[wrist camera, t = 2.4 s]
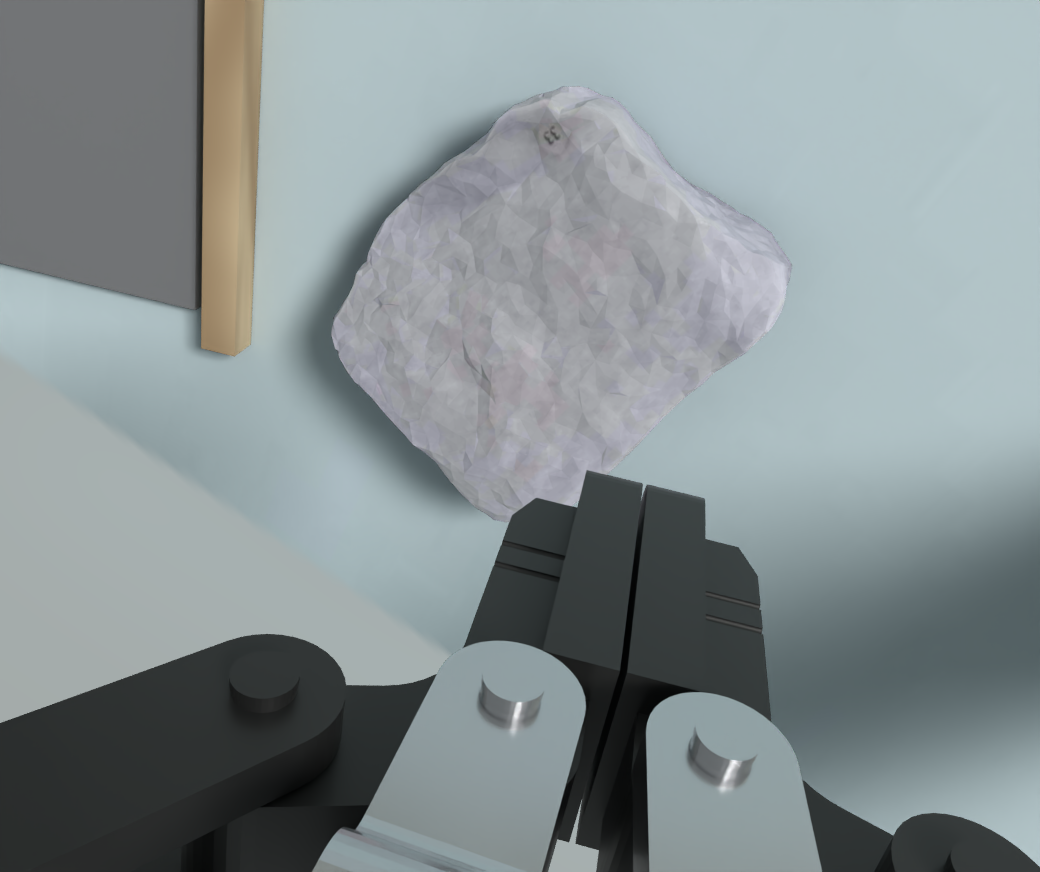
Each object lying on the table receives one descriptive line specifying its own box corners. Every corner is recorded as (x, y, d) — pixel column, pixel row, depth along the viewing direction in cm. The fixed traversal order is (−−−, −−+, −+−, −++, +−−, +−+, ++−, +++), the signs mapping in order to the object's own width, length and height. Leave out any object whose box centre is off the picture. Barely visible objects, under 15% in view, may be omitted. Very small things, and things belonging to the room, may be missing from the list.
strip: (268, -122, 25) (248, -127, 24) (250, 344, 31) (234, 356, 30) (228, -130, 25) (206, -135, 24) (218, 336, 32) (201, 348, 30)
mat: (207, -93, 26) (197, -94, 25) (202, 305, 31) (195, 310, 31) (-144, -162, 27) (-159, -165, 26) (-88, 235, 32) (-100, 238, 32)
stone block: (351, 313, 32) (551, 516, 32) (277, 338, 27) (508, 574, 27) (579, 34, 27) (816, 272, 27) (532, 10, 23) (816, 295, 22)
